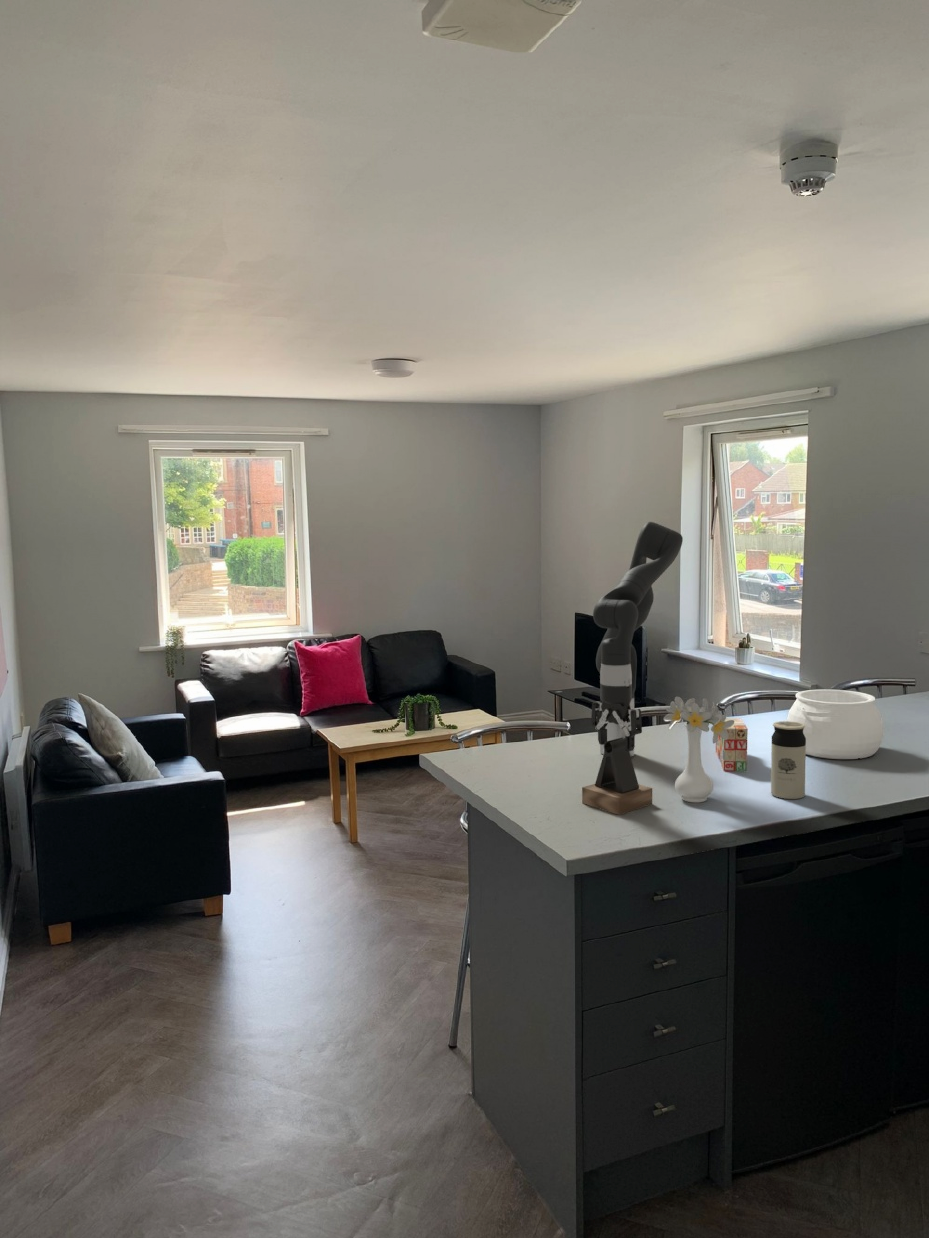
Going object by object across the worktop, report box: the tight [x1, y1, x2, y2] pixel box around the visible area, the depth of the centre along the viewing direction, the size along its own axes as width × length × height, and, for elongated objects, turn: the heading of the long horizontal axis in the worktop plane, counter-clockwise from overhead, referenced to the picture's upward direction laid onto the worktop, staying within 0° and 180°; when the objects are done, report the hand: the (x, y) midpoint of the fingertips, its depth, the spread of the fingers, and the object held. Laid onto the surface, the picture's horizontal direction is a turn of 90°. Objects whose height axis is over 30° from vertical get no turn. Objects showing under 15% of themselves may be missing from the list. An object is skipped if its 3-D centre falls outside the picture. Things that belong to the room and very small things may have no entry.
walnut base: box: [581, 783, 653, 816], centre depth 222 cm, size 12×12×4 cm
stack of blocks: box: [715, 717, 748, 772], centre depth 258 cm, size 21×6×12 cm, turn 171°
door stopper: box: [594, 737, 640, 794], centre depth 222 cm, size 9×6×12 cm, turn 39°
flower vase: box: [663, 696, 734, 804], centre depth 223 cm, size 13×18×25 cm
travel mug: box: [770, 720, 807, 800], centre depth 225 cm, size 8×8×18 cm
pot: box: [786, 689, 885, 760], centre depth 267 cm, size 29×26×16 cm
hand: (616, 747), depth 221 cm, fingers open, 8 cm apart
